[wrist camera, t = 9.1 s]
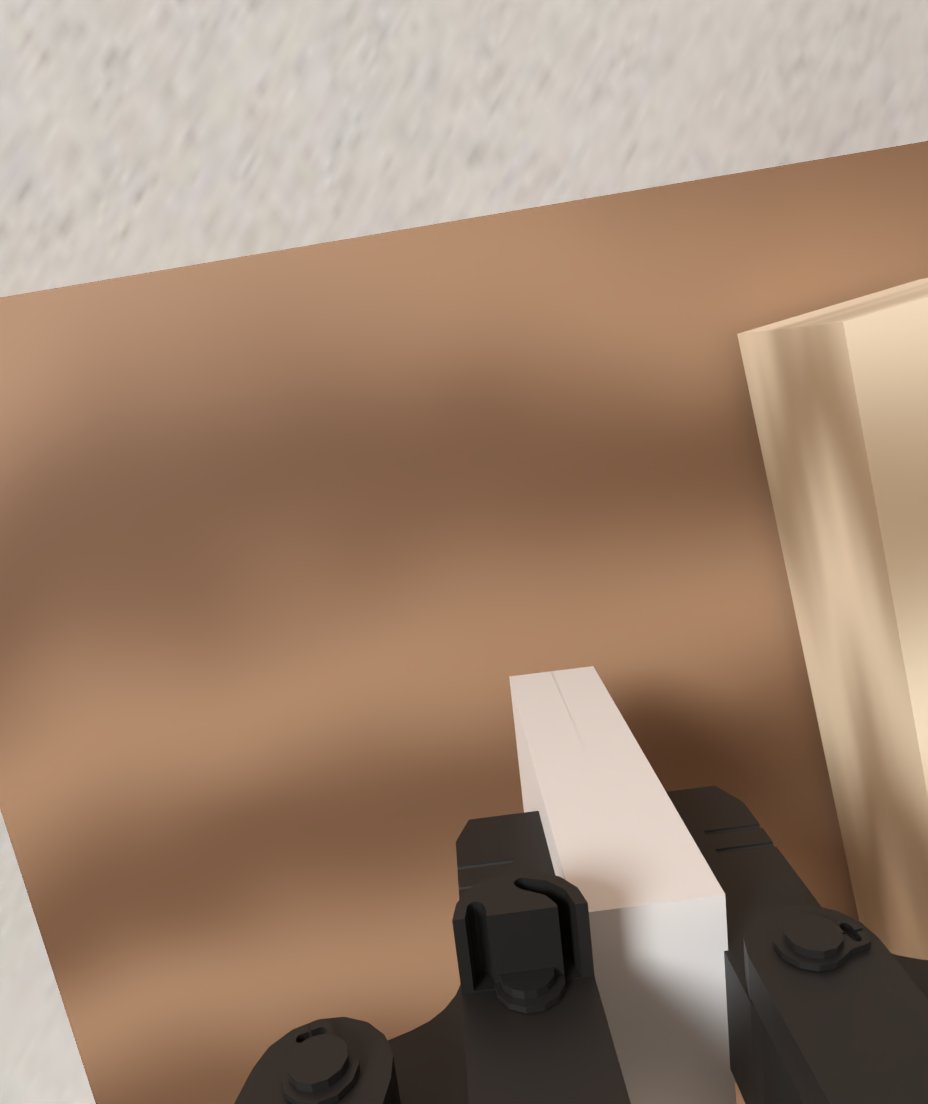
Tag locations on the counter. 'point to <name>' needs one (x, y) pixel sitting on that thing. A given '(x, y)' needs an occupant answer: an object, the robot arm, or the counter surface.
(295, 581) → the brown flat square block
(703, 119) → the counter surface
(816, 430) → the folding leg
